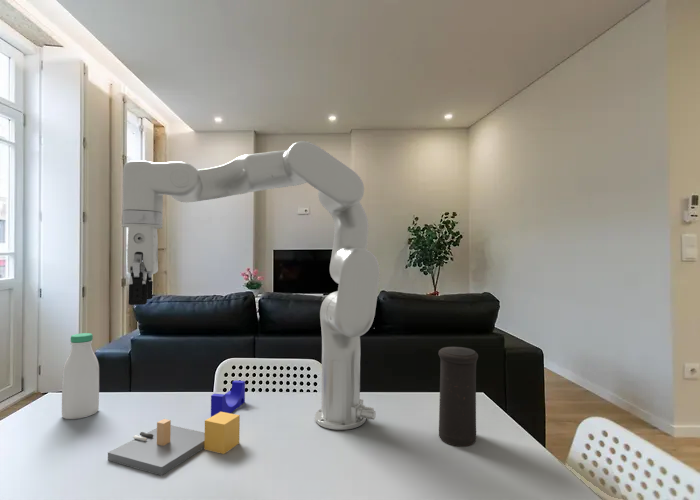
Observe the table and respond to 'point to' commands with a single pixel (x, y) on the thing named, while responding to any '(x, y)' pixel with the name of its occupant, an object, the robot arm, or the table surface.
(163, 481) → the table surface
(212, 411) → the blue arch bracket
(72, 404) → the milk bottle
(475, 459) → the table surface
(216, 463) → the table surface
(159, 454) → the plate
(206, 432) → the mustard yellow cube
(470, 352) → the container
